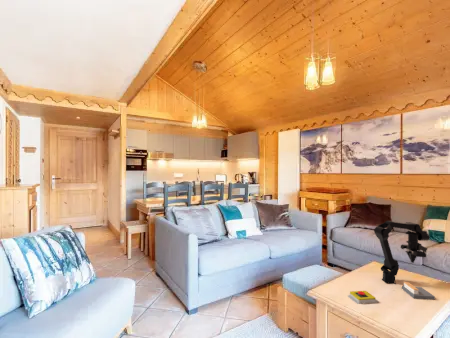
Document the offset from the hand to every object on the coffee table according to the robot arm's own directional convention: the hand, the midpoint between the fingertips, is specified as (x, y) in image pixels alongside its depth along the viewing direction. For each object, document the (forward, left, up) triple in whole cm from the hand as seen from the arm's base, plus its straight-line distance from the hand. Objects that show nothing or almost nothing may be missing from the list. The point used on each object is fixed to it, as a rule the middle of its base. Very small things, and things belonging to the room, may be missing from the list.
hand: (412, 262), depth 177 cm
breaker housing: (-9, -20, -13) cm, 25 cm away
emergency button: (-47, -31, -14) cm, 58 cm away
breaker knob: (-13, -20, -11) cm, 26 cm away
